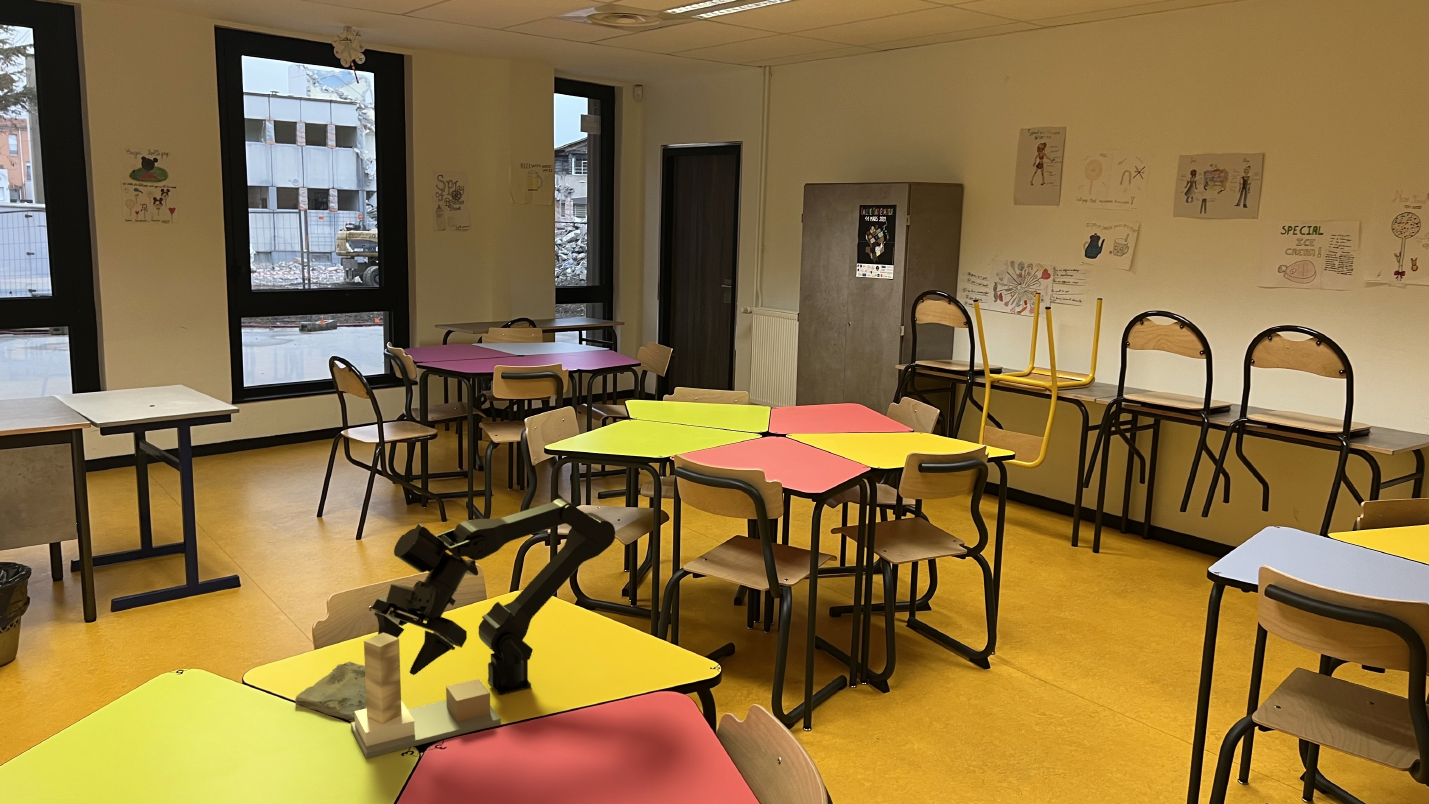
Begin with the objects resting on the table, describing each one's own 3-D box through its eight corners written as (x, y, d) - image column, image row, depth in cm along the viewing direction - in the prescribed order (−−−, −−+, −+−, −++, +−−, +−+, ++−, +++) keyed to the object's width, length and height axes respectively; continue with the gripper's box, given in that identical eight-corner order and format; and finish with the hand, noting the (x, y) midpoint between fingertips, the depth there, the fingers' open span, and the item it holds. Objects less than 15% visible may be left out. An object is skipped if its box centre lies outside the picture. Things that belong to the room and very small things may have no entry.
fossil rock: (340, 669, 195) (339, 658, 195) (411, 679, 192) (410, 668, 192) (285, 713, 178) (284, 701, 178) (362, 725, 175) (362, 712, 175)
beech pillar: (386, 707, 173) (383, 632, 171) (401, 714, 171) (399, 638, 168) (366, 717, 170) (363, 640, 167) (382, 724, 168) (379, 646, 165)
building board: (479, 696, 185) (479, 671, 184) (500, 723, 176) (500, 697, 175) (350, 727, 173) (349, 701, 172) (366, 758, 164) (365, 730, 163)
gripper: (377, 553, 176) (327, 633, 170) (452, 576, 167) (402, 663, 160) (414, 581, 185) (367, 659, 178) (487, 605, 175) (441, 688, 168)
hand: (393, 666), depth 171 cm, fingers open, 9 cm apart
